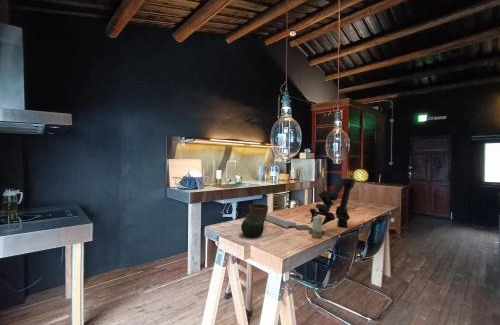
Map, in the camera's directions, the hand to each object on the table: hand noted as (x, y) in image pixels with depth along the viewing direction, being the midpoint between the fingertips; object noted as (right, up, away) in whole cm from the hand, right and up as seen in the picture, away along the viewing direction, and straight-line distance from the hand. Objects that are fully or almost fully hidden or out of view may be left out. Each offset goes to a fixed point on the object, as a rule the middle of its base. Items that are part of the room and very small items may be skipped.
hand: (316, 223), depth 176 cm
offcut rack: (0, -7, +1) cm, 7 cm away
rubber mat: (-7, -7, +14) cm, 17 cm away
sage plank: (0, -7, +1) cm, 7 cm away
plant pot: (-41, -6, +14) cm, 44 cm away
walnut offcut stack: (-2, -8, -8) cm, 11 cm away
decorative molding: (-25, -6, +28) cm, 38 cm away
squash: (-46, -7, -7) cm, 47 cm away
